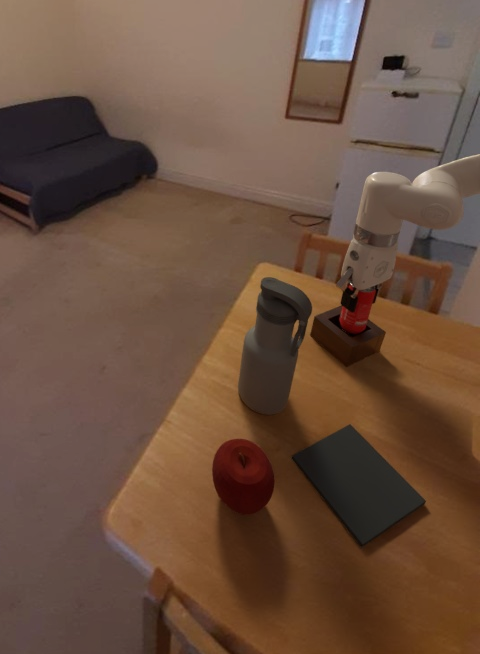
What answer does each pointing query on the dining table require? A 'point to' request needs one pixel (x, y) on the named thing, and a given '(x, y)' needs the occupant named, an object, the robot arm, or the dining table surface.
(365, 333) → the holder
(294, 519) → the dining table surface
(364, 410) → the dining table surface
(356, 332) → the beverage can
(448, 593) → the dining table surface
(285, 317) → the water bottle
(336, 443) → the mat
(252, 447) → the apple
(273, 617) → the dining table surface
